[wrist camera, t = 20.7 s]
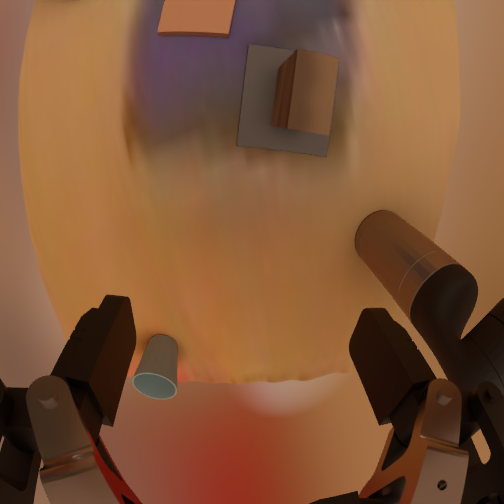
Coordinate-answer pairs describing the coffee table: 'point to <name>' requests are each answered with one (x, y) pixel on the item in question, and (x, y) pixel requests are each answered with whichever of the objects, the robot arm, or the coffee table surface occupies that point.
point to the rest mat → (271, 107)
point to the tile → (196, 18)
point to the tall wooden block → (305, 92)
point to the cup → (158, 369)
